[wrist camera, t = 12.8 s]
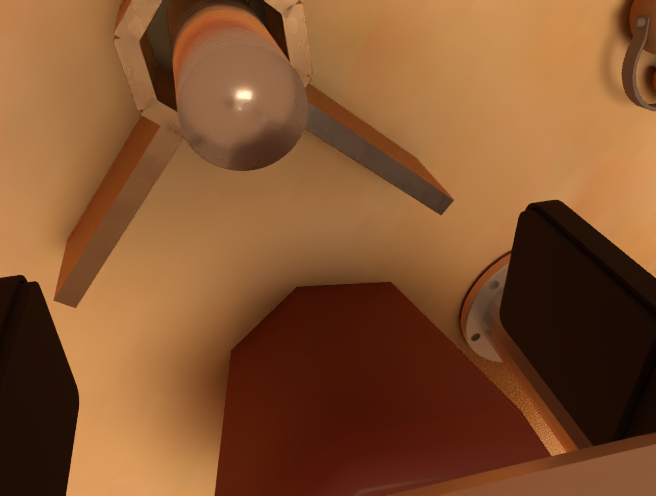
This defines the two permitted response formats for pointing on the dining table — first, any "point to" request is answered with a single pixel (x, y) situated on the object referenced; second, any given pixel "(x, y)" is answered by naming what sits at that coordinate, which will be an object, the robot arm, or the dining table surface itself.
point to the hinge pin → (233, 85)
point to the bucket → (359, 402)
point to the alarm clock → (639, 47)
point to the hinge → (166, 135)
